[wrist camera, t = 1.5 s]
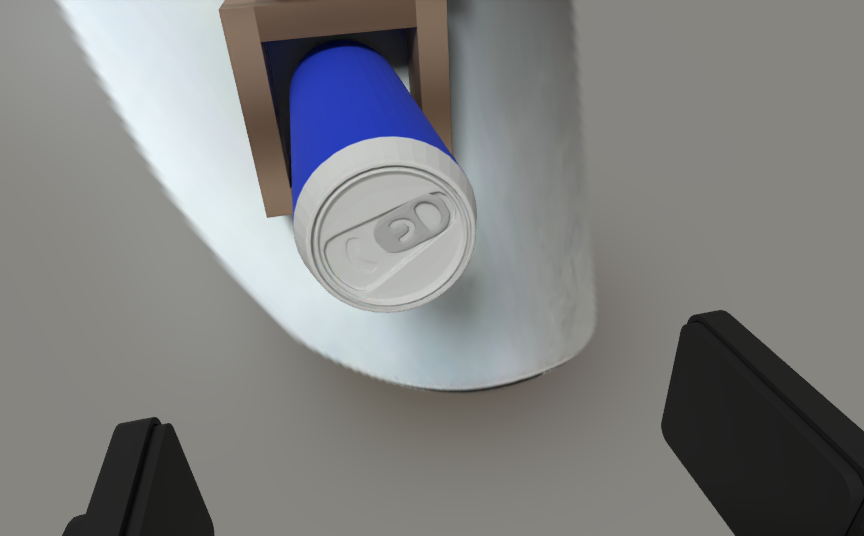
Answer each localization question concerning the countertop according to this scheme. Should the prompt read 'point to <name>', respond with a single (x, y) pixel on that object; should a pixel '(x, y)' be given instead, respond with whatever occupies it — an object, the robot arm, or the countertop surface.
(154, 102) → the countertop surface
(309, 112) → the beverage can
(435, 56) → the block
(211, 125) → the countertop surface
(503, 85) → the countertop surface
